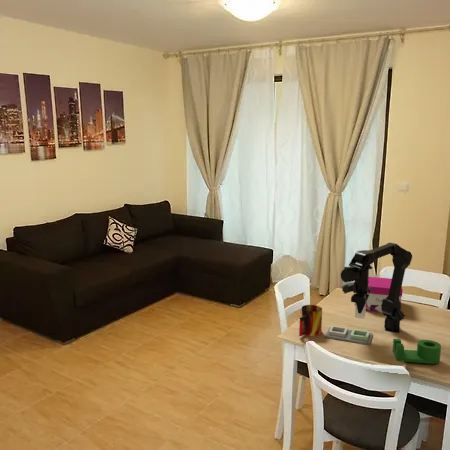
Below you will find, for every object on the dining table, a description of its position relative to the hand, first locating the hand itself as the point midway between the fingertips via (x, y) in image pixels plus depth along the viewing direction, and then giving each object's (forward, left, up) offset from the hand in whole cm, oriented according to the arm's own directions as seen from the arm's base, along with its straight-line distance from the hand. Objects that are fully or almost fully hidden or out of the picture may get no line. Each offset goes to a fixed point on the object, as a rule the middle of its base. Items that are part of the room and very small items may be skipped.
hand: (360, 311), depth 209 cm
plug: (0, 0, -2) cm, 2 cm away
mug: (+22, +4, -13) cm, 26 cm away
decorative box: (-5, -45, -13) cm, 47 cm away
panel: (+5, 0, -13) cm, 14 cm away
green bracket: (-25, +10, -13) cm, 30 cm away
